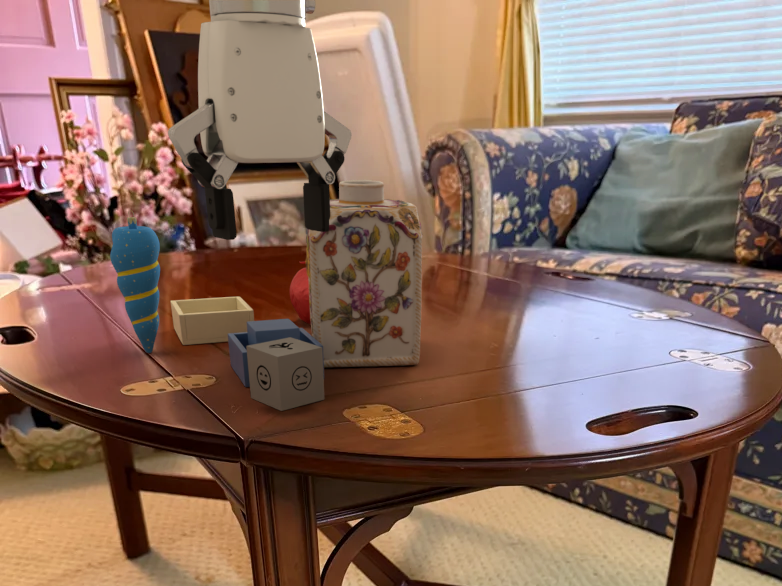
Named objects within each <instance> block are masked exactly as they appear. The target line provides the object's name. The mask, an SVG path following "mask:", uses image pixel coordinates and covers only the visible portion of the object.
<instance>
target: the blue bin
mask: <svg viewBox="0 0 782 586" xmlns="http://www.w3.org/2000/svg"><path fill="white" fill-rule="evenodd" d="M299 332H300V340H301V341H304V342H307V343H310V344H313V345H316V346H320V347H322V352H323V345H322V344H320V343H319V342H318V341H317V340H316V339H315V338H314V337H312V334H311V333H309V332H308V331H307V330H306V329H304V327H299ZM227 344H228V352H229V361H230V362H229V363H230V367H231V368H232V370H233V372H234V373H235V374H236V375H237V377H238V378H239V380H240V382H241V383H242V384H243V386H244V387H245V388H250V381H249V370H248V359H247V348H246V346H248V345H249V344H248V333H247V332H241V333H228V341H227ZM323 376H324V377H325V368H324V354H323Z"/></svg>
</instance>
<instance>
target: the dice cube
mask: <svg viewBox="0 0 782 586" xmlns="http://www.w3.org/2000/svg"><path fill="white" fill-rule="evenodd" d="M246 348H247V359H248V370H249V381H250V387H249V391H250V398H251V399H253V400H254V401H257V402H259V403H261V404H264V405H267V406H268V407H271V408H273V409H276V410H278V411H280V412H282V411H283V412H284V411H287V410H291V409H293V408H298V407H301V406H305V405H306V406H307V405H309V404H313V403H317V402H321V401H324V400H325V375H324V376H323V352H322V347H320V346H316V345H313V344H310V343H307V342H304V341H301V340H298V339H294V338H291V337H289V338H284V339H279V340H274V341H269V342H264V343H258V344H253V345H248V346H246Z"/></svg>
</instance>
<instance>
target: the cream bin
mask: <svg viewBox="0 0 782 586" xmlns="http://www.w3.org/2000/svg"><path fill="white" fill-rule="evenodd" d="M170 309H171V316H172V323H173V329H174V331H175V333H176V335H177V337H178V339H179V340H180V342H181V344H182V346H188V345H189V346H190V345H201V344H215V343H226V342H227V343H228V333H241V332H247V322H249V321H255V312H254V309H253V308H252V307H251V306H250V305H249V304H248V303H247V302H246V301H245V300H244V299H243V298H242V297H241V296H225V297H222V296H221V297H207V298H195V299H194V298H191V299H175V300H170Z"/></svg>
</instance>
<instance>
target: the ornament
mask: <svg viewBox="0 0 782 586" xmlns="http://www.w3.org/2000/svg"><path fill="white" fill-rule="evenodd" d="M130 212H131V213H132V215H133V216H130ZM127 215H128V217H126V221H127V226H126V225H125V226H118V227H115V228H114V229H113V230H112V233H111V241H112V245H111V250H110V254H109V258H110V259H109V260H110V262H111V265H112V267H113V269H114V270H115V272H116V274H117V277H116V285H117V287H118V289H119V291H120V293H121V294H122V297H123V298H124V308H125V312H126V315H127V316H128V318H129V321H130V323H131V325H132V328H133V331H134V334H135V335H136V336H137V338H138V340H139V343H140V344H141V346H142V348H143V350H144V352H145V353H147V354H151V353H153V351H154V347H155V342H156V339H157V334H158V330H159V326H160V314H159V312H158V307H159V304H160V290H159V287H158V284H159V280H160V276H161V266H160V263H159V261H158V259H159V255H160V249H161V248H160V247H161V246H160V240H159V238H158V235H157V233H156V232H155V231H154V230H153V229H152V228H151V227H148V226H142V225H138V220H137V217H135V213H134V212H133V210H129V211H128V212H127Z"/></svg>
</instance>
